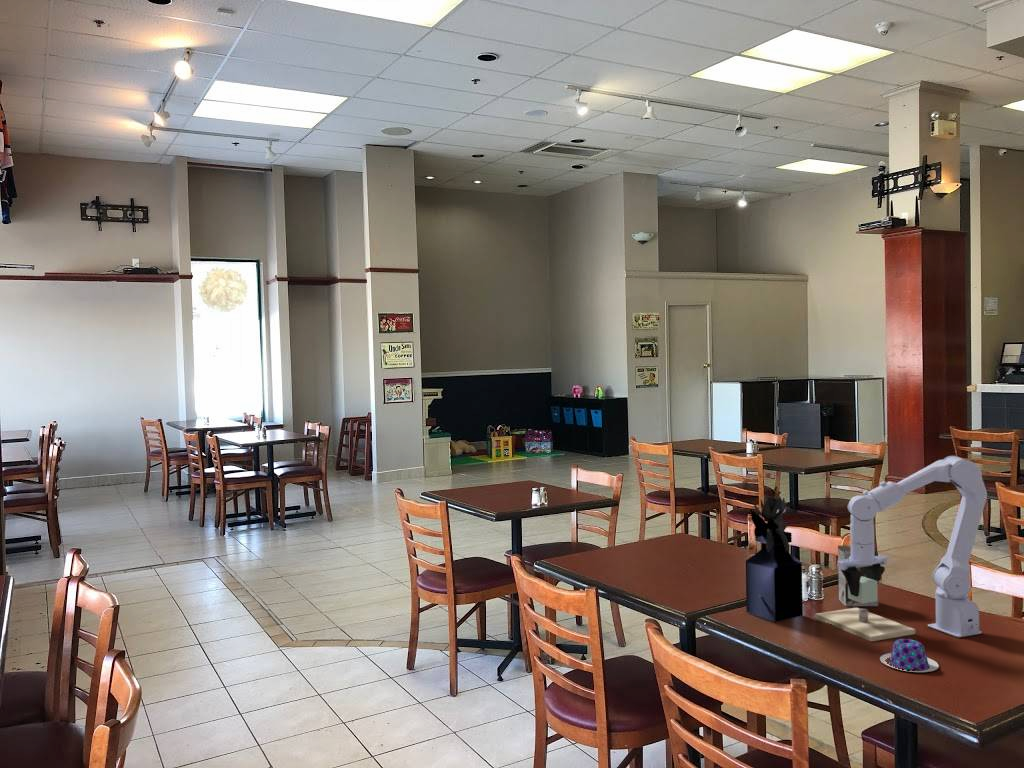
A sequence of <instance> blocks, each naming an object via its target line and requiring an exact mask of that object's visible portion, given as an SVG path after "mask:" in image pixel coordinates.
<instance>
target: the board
mask: <svg viewBox="0 0 1024 768" xmlns="http://www.w3.org/2000/svg"><path fill="white" fill-rule="evenodd" d="M814 618H815V619H816V620H819V621H820V622H824V623H826V624H828V623H829V624H828V625H830V624H832V625H831V626H833V625H834V626H833V627H835V626H836V628H837V629H840V628H841V630H842V629H843V631H845V632H848V633H849V634H852V635H855V636H857V637H859V638H862V639H864V640H866V641H869V642H877V641H883V640H887V639H893V638H901V637H906V636H911V635H916V628H913V627H910V626H908V625H904V624H902V623H899V622H897V621H894V620H892V619H889V618H886V617H883V616H881V615H878V614H875V613H873V612H870V611H869V609H867V608H859V607H850V608H844V609H837V610H832V611H825V612H824V611H823V612H820V613H819V612H818V613H815V614H814Z"/></svg>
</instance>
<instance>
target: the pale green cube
mask: <svg viewBox="0 0 1024 768" xmlns="http://www.w3.org/2000/svg"><path fill="white" fill-rule="evenodd" d="M878 590H879V587H878V588H877V581H875V580H872V579H869V578H866V577H861V578H860V583H859V595H858V596H857V597H856V596H853V595H851V594H850V590H849V586H848V598H849V599H852V600H854V601H857V602H860V603H868V602H875V601H878V602H879V595H878V594H879V591H878Z"/></svg>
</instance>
